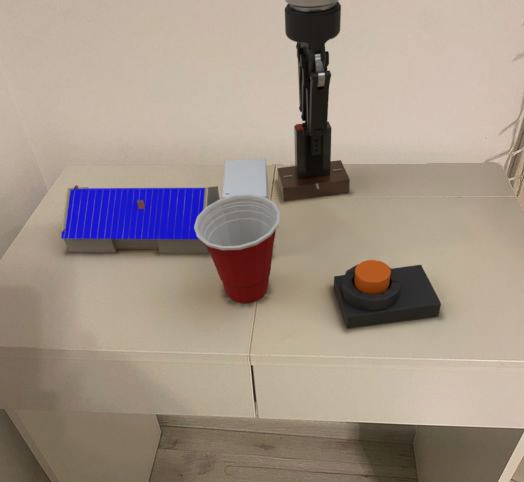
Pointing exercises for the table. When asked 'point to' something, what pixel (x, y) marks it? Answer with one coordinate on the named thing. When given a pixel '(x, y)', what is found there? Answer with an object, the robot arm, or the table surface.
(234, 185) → the cosmetics box
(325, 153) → the dark grey block
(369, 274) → the switch button
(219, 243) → the plastic cup
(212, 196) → the roof
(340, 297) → the switch button base
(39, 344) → the table surface
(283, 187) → the dial panel
